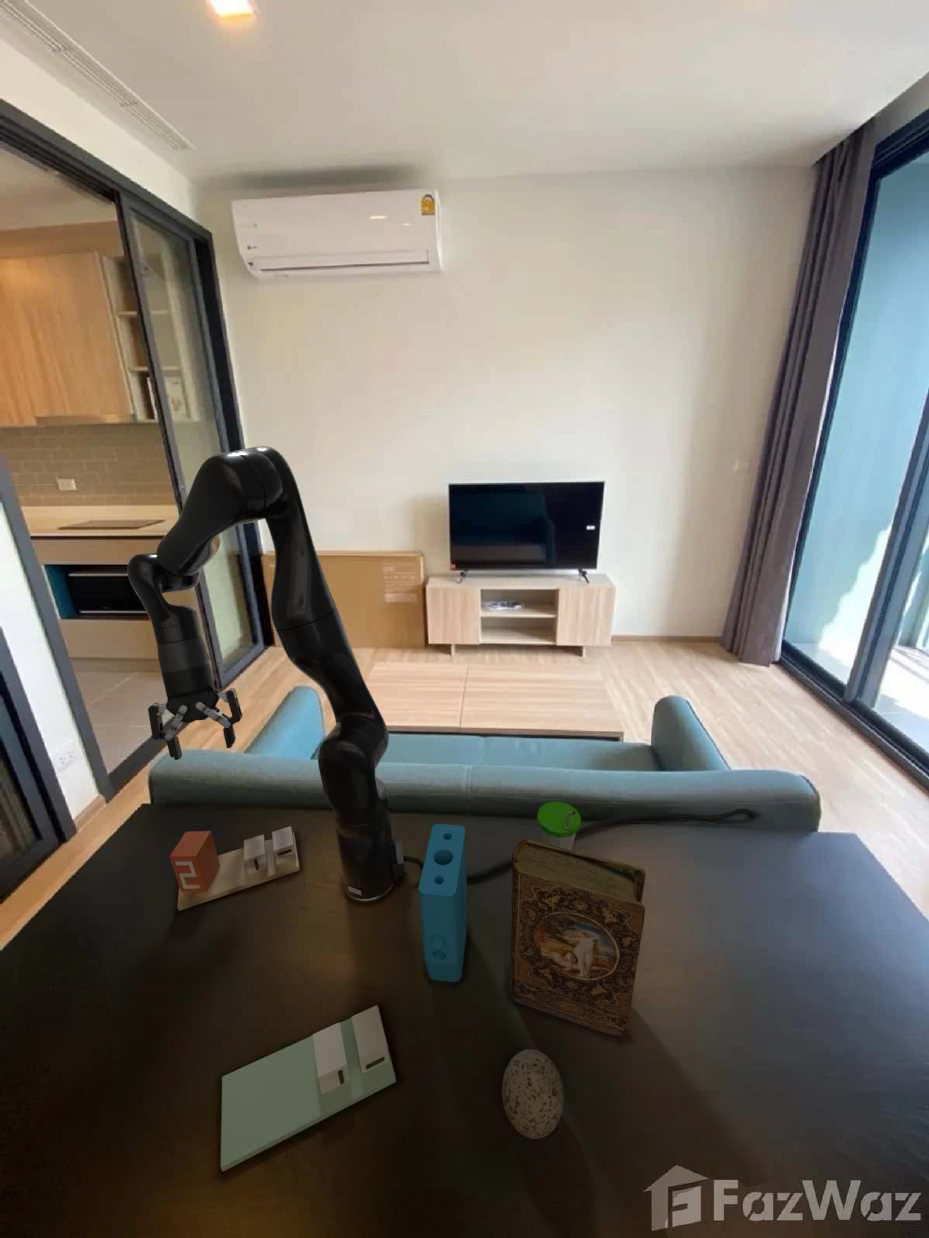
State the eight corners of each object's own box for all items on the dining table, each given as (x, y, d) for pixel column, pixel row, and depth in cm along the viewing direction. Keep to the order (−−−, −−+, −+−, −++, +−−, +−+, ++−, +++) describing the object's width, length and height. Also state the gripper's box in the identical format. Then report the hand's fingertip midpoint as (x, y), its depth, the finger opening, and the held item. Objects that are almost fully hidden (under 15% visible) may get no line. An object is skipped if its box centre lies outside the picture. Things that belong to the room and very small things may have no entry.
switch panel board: (378, 1009, 70) (375, 989, 68) (396, 1081, 63) (393, 1060, 61) (223, 1080, 63) (216, 1059, 61) (222, 1172, 55) (213, 1151, 54)
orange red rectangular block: (220, 865, 92) (210, 830, 89) (206, 893, 87) (195, 856, 84) (196, 866, 92) (185, 831, 89) (180, 893, 87) (168, 857, 84)
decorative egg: (571, 1143, 57) (577, 1094, 53) (511, 1162, 56) (513, 1113, 52) (548, 1069, 63) (552, 1020, 60) (494, 1084, 62) (494, 1035, 58)
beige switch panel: (294, 835, 100) (291, 818, 98) (299, 870, 92) (296, 852, 91) (183, 870, 93) (177, 852, 91) (178, 911, 85) (172, 892, 83)
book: (505, 998, 71) (507, 869, 62) (514, 961, 76) (517, 836, 67) (625, 1040, 66) (647, 907, 57) (626, 997, 71) (647, 868, 62)
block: (459, 995, 72) (455, 896, 64) (425, 991, 72) (417, 893, 65) (468, 918, 83) (466, 825, 75) (438, 915, 83) (433, 823, 76)
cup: (535, 840, 97) (538, 779, 92) (576, 844, 96) (581, 782, 91) (534, 874, 90) (537, 810, 85) (578, 879, 89) (584, 814, 84)
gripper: (132, 677, 82) (154, 770, 84) (224, 660, 86) (243, 749, 88) (147, 669, 89) (167, 755, 91) (232, 654, 93) (249, 736, 95)
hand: (204, 752), depth 89 cm, fingers open, 8 cm apart
